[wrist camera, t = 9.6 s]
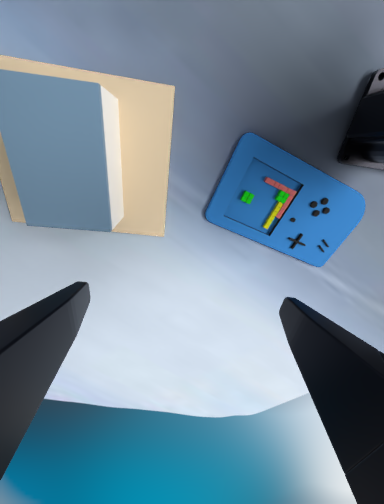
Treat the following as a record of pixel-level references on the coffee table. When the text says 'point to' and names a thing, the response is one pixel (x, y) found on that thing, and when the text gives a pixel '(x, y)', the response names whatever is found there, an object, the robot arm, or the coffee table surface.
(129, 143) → the cork mat
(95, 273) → the coffee table surface
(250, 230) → the handheld gaming device
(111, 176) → the card box
